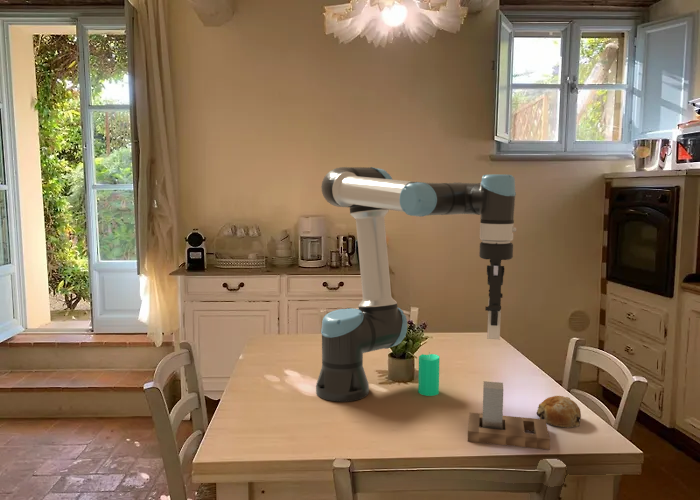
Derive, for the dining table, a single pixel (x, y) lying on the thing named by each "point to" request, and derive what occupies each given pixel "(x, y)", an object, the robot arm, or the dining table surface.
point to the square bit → (492, 405)
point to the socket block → (510, 432)
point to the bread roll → (559, 412)
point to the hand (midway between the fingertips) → (493, 331)
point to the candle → (428, 375)
